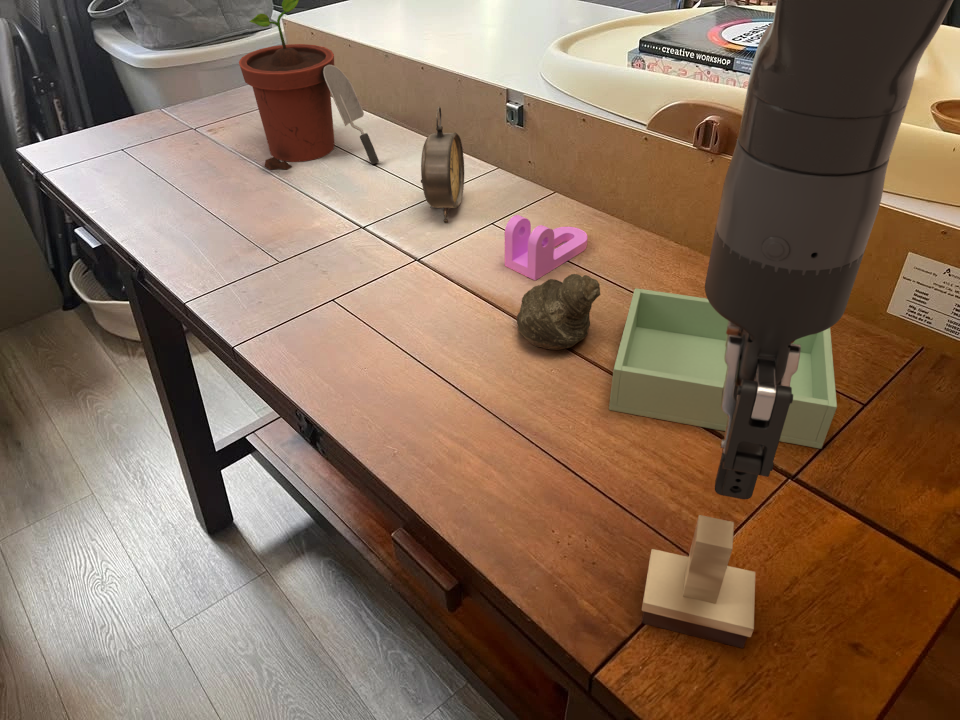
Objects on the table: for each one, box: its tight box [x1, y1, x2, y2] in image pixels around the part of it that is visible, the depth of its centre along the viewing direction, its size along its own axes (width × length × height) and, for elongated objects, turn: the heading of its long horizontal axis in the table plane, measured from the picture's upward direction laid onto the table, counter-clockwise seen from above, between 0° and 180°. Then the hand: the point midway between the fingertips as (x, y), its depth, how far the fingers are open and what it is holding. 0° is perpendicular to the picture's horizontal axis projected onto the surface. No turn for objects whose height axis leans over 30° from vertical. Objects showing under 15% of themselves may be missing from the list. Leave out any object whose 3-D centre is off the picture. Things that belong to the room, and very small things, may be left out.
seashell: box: [516, 273, 601, 351], centre depth 90 cm, size 11×12×10 cm
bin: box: [608, 287, 838, 450], centre depth 83 cm, size 22×16×6 cm
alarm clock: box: [420, 105, 465, 224], centre depth 113 cm, size 11×5×16 cm, turn 171°
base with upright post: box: [641, 514, 756, 649], centre depth 60 cm, size 8×5×10 cm, turn 73°
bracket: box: [504, 214, 588, 281], centre depth 105 cm, size 13×6×7 cm, turn 136°
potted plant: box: [238, 0, 380, 171], centre depth 128 cm, size 18×22×25 cm
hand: (734, 445), depth 50 cm, fingers open, 8 cm apart
